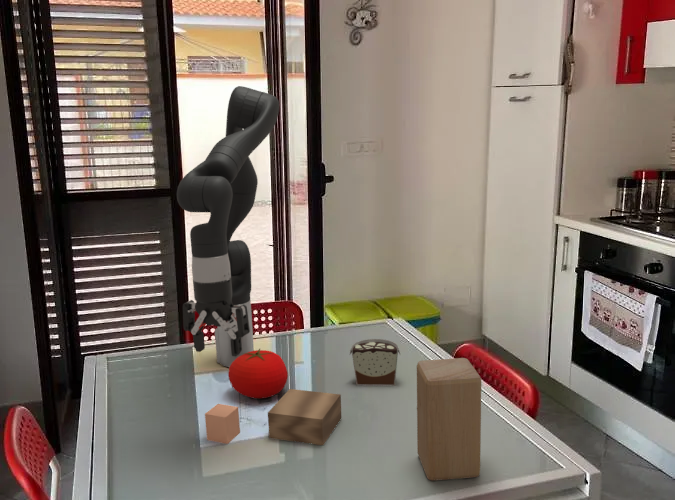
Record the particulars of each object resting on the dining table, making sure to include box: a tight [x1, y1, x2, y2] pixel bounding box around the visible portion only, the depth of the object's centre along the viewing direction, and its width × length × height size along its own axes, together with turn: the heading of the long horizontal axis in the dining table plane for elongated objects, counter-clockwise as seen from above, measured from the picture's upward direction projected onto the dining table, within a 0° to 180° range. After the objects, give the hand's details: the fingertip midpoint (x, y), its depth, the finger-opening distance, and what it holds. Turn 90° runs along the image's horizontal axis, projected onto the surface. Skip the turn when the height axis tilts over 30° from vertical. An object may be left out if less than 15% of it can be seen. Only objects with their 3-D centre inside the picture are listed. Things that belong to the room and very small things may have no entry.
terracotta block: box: [204, 403, 241, 445], centre depth 138 cm, size 5×5×6 cm
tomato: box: [227, 348, 289, 400], centre depth 158 cm, size 14×13×10 cm
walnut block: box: [267, 388, 342, 446], centre depth 141 cm, size 12×12×6 cm
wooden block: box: [416, 357, 482, 482], centre depth 122 cm, size 10×10×20 cm
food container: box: [349, 338, 401, 387], centre depth 163 cm, size 12×6×10 cm, turn 84°
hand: (218, 352), depth 135 cm, fingers open, 8 cm apart
